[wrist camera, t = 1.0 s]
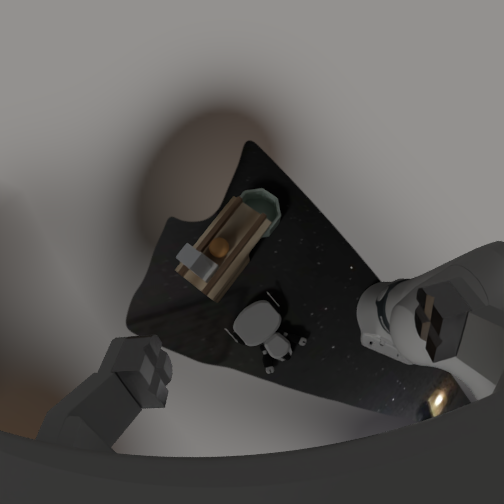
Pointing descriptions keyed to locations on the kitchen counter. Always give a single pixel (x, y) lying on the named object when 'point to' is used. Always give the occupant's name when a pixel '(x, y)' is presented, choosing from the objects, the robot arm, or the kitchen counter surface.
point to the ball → (219, 247)
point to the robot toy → (264, 331)
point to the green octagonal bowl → (263, 206)
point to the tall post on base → (197, 262)
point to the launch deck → (240, 244)
